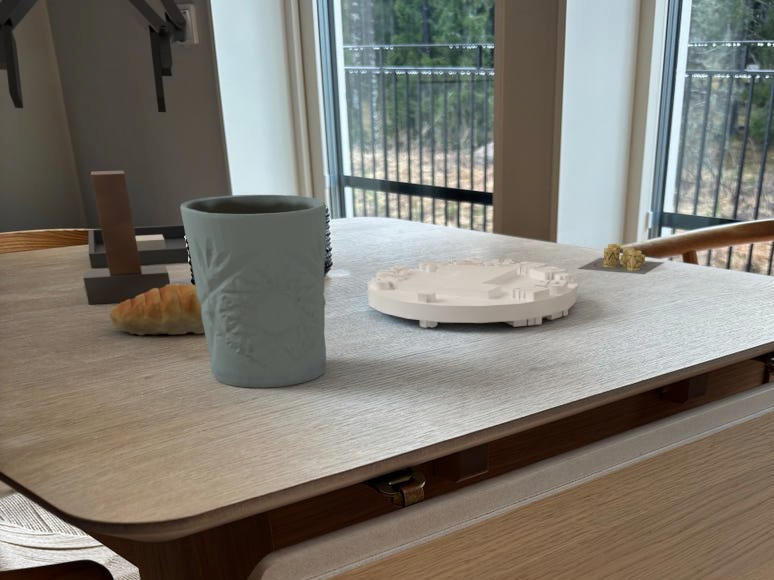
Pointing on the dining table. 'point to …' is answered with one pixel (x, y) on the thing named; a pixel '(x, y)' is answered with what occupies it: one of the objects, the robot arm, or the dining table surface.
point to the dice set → (622, 261)
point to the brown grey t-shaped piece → (119, 247)
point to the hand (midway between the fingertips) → (90, 103)
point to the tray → (171, 254)
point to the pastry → (161, 311)
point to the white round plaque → (474, 292)
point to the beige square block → (150, 242)
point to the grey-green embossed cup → (260, 286)
